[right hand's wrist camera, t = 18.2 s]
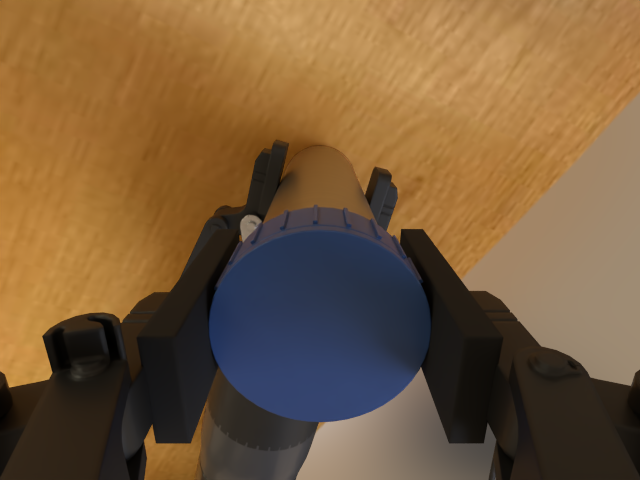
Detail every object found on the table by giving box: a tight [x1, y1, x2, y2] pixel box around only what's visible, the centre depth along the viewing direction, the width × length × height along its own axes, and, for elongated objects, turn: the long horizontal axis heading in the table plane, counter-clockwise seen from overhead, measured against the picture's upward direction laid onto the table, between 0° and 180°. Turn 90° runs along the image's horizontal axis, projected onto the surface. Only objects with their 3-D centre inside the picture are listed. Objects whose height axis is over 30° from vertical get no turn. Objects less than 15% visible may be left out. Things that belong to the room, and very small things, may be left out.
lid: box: [208, 205, 432, 422], centre depth 11 cm, size 6×6×2 cm
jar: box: [263, 146, 377, 224], centre depth 19 cm, size 5×5×18 cm
